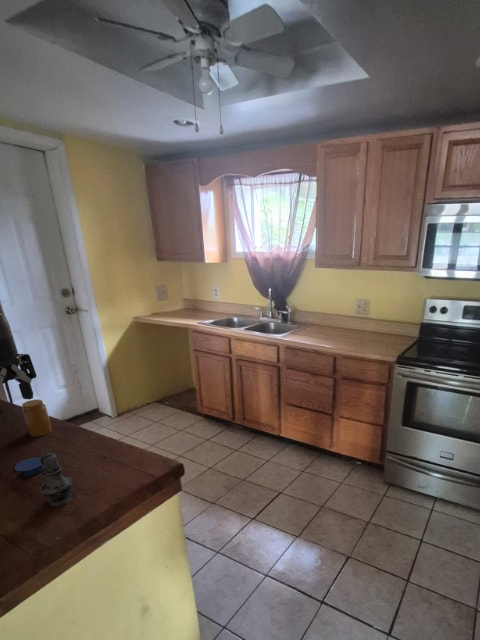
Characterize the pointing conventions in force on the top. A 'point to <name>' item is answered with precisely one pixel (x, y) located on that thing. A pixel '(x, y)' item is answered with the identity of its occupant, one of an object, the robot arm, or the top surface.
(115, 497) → the top surface
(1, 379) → the robot arm
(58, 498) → the grey metal fitting
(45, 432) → the jar
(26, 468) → the lid
